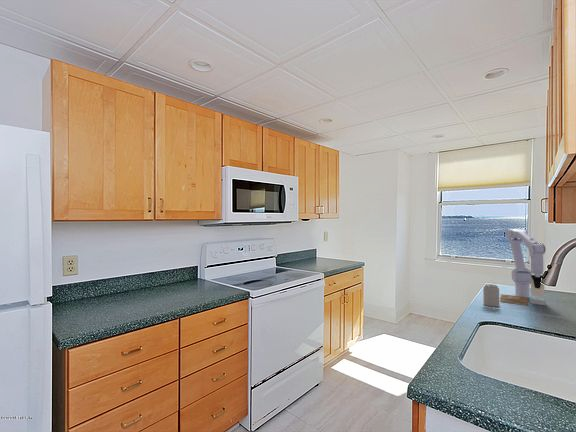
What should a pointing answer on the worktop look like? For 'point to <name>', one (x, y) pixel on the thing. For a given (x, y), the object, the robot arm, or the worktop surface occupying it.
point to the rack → (522, 299)
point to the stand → (537, 301)
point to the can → (491, 295)
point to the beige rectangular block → (537, 290)
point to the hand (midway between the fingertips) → (537, 287)
